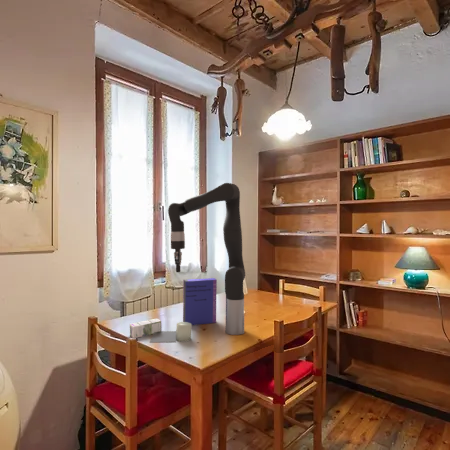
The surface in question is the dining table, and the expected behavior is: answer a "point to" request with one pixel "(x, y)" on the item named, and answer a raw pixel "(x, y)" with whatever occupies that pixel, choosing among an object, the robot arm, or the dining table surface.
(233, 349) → the dining table surface
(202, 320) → the purple book
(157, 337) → the felt mat
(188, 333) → the pillar candle
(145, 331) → the syrup box
